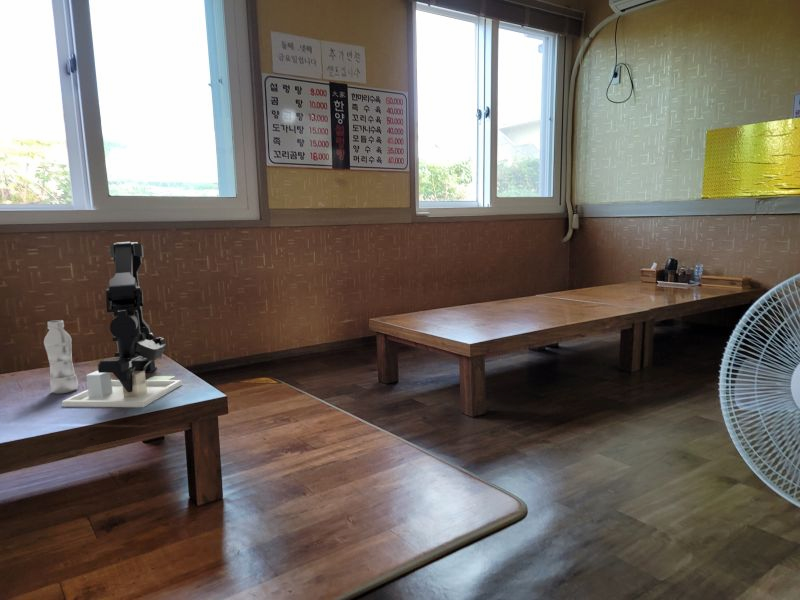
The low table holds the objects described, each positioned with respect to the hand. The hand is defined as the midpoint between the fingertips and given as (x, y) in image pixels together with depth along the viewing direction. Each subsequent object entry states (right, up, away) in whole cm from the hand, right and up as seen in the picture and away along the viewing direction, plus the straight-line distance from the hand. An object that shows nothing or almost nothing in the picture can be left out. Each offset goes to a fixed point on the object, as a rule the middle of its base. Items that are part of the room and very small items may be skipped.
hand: (135, 389), depth 145 cm
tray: (-3, -2, +1) cm, 4 cm away
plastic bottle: (-22, -2, +6) cm, 23 cm away
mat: (0, 0, +14) cm, 14 cm away
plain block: (-10, -2, +2) cm, 10 cm away
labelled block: (0, -2, 0) cm, 2 cm away
